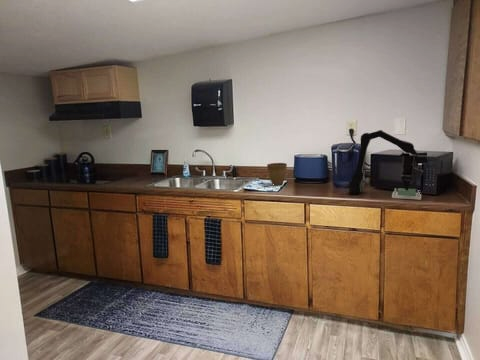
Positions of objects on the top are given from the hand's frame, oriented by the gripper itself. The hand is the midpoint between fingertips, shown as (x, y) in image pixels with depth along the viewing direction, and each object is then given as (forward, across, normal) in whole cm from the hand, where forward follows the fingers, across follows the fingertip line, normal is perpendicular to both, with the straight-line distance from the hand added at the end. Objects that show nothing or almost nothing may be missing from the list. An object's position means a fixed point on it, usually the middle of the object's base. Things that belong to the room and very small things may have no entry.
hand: (407, 188), depth 218 cm
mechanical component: (+5, +6, +27) cm, 28 cm away
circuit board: (+4, 0, 0) cm, 4 cm away
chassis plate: (+5, 0, 0) cm, 5 cm away
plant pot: (+5, +14, +90) cm, 91 cm away
